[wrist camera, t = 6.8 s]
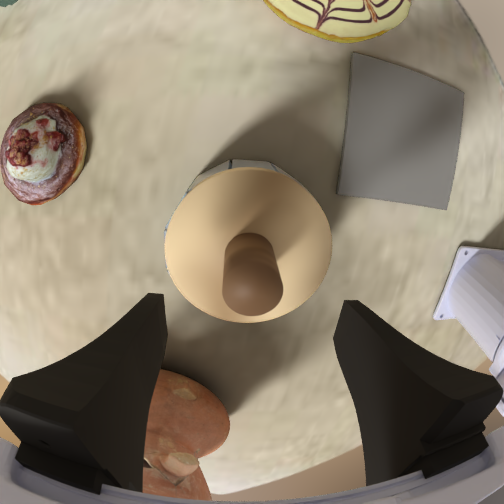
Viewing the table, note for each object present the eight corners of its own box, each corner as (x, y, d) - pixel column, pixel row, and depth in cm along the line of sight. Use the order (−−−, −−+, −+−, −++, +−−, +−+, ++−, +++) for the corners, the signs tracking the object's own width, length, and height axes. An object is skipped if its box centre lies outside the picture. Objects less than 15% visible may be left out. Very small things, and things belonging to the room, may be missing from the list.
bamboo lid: (343, 182, 15) (379, 207, 11) (306, 318, 19) (321, 367, 15) (174, 157, 14) (150, 173, 10) (166, 304, 18) (151, 353, 14)
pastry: (103, 118, 17) (66, 121, 12) (73, 214, 19) (39, 240, 15) (26, 92, 15) (-16, 93, 10) (5, 179, 17) (-34, 197, 13)
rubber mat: (461, 92, 16) (464, 92, 16) (443, 208, 20) (446, 210, 20) (351, 53, 15) (353, 52, 15) (336, 193, 20) (337, 194, 19)
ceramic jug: (128, 317, 23) (68, 465, 10) (265, 383, 27) (276, 518, 14) (85, 401, 29) (53, 494, 17) (184, 444, 33) (175, 535, 21)
